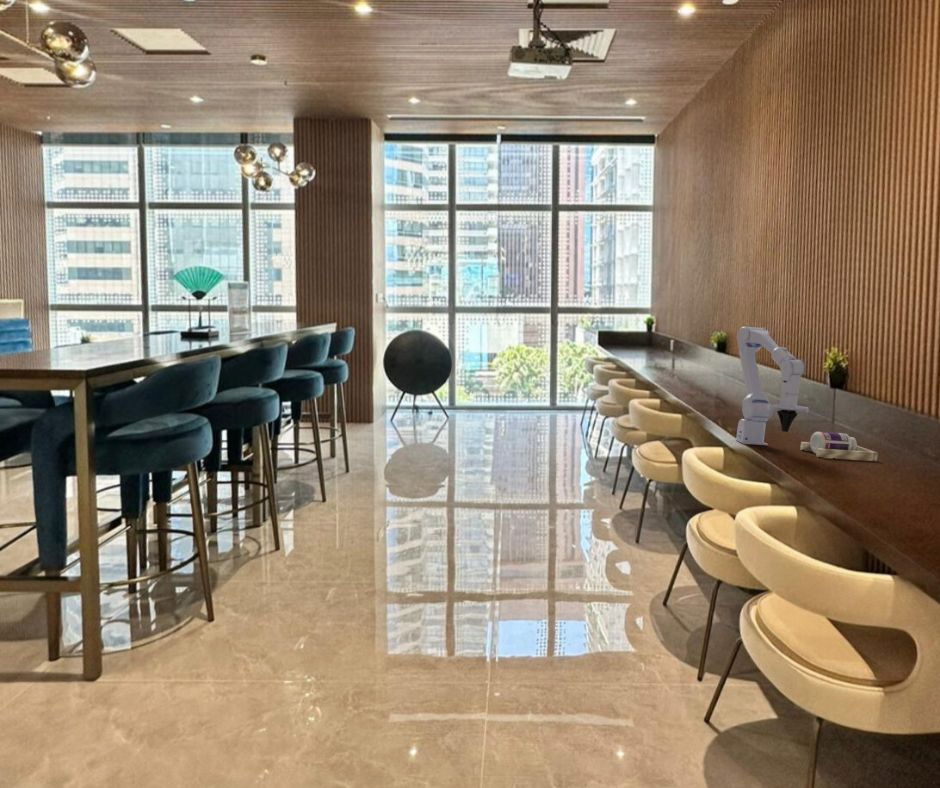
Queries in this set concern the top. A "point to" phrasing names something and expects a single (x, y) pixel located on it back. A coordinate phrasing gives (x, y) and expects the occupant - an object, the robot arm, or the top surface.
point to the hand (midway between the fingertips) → (784, 431)
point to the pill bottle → (832, 441)
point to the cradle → (843, 453)
